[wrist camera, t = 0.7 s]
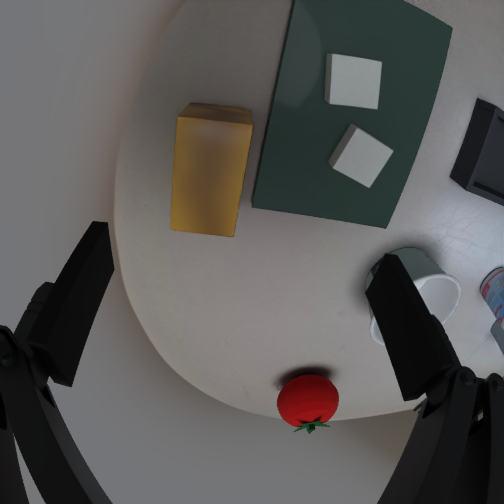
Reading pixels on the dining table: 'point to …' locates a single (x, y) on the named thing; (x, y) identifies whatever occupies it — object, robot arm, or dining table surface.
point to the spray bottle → (498, 335)
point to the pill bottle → (495, 293)
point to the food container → (423, 286)
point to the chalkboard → (348, 107)
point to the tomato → (308, 401)
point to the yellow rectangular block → (209, 168)
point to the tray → (483, 154)
